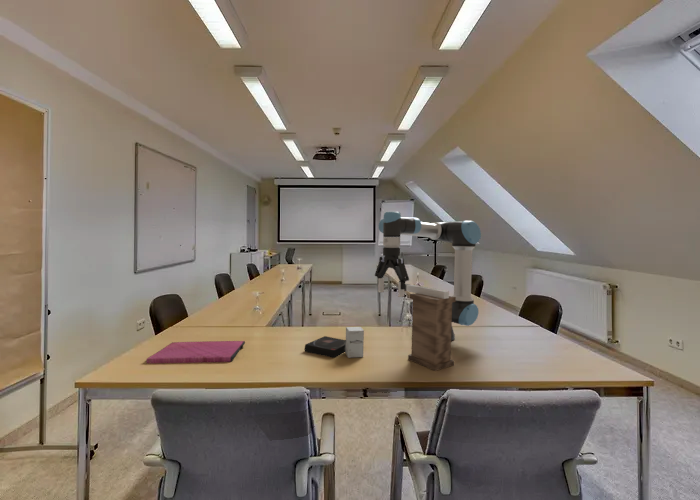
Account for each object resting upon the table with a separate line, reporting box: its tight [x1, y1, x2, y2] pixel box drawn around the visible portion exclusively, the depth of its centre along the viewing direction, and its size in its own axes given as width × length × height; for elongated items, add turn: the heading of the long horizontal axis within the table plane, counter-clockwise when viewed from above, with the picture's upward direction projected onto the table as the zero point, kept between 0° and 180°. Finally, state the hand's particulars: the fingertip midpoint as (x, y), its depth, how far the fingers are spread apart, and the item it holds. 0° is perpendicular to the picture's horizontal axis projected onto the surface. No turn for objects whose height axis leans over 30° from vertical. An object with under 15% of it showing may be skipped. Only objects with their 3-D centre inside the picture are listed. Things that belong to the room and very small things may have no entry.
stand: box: [407, 293, 456, 372], centre depth 157 cm, size 12×16×30 cm
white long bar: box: [404, 283, 450, 299], centre depth 160 cm, size 3×26×3 cm, turn 34°
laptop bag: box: [146, 340, 246, 364], centre depth 165 cm, size 40×4×27 cm
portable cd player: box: [304, 335, 346, 359], centre depth 172 cm, size 16×17×4 cm
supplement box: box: [345, 326, 365, 358], centre depth 165 cm, size 7×7×13 cm
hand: (390, 294), depth 156 cm, fingers open, 13 cm apart
